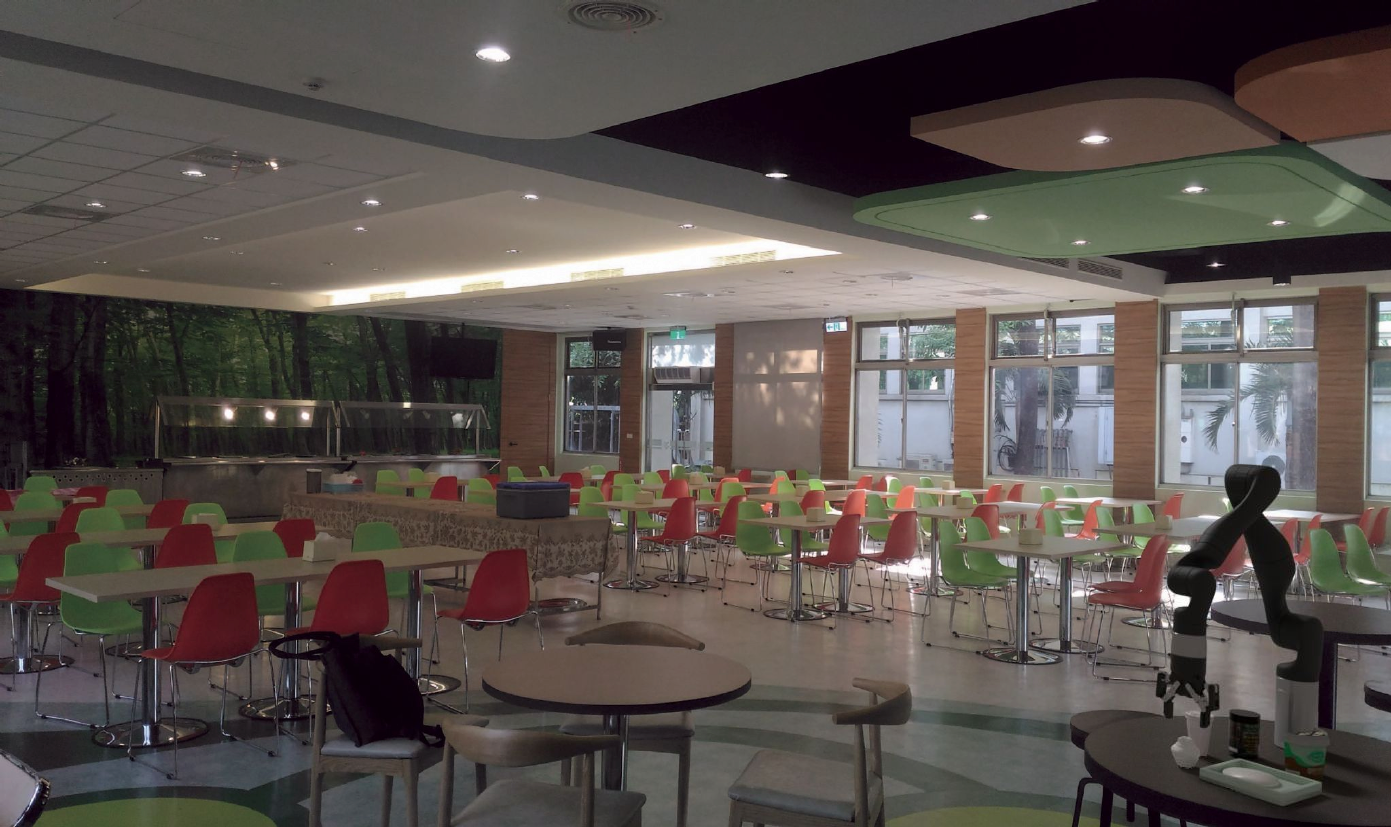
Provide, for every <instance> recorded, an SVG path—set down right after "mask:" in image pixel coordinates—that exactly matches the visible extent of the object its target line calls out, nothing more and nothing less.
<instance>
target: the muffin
mask: <svg viewBox="0 0 1391 827" xmlns="http://www.w3.org/2000/svg"><path fill="white" fill-rule="evenodd" d="M1170 751H1171V753H1172V756H1173V759H1174V761H1175V763H1176V765H1177V766H1178V765H1179V766H1180V768H1182V767H1188V768H1187V769H1189V768H1191V767H1193V768H1195V766H1196V764H1197V763H1198V761H1199V759H1200V758H1199V757H1201V756H1200V754H1201V753H1200V750H1199V749H1198V748H1197V747H1196V745H1195V742H1194V740H1193V739H1192V738H1190V737H1188V735H1187V736H1186V735H1185V736H1184V735H1183V736H1180V737H1178V738H1177V741H1176V742H1175V743H1174V744H1173V745H1172V746H1171V747H1170ZM1179 766H1178V767H1179ZM1191 769H1192V768H1191Z"/></svg>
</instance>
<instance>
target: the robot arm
mask: <svg viewBox="0 0 1391 827" xmlns="http://www.w3.org/2000/svg"><path fill="white" fill-rule="evenodd" d="M1223 481H1224V483H1223V484H1224V489H1225V493H1226V495H1227V498H1228V500H1229V502H1230V505H1231V507H1232V509H1231V510H1230V511H1228V512H1227V513H1225V514H1224V515H1222V516H1221V517H1219V518H1217V519H1216V520H1215V521H1214V522H1212V523H1211V524H1210V525H1209V526H1208V527H1207V528H1205V530H1204V531H1203V533H1202V534H1201V536H1200V537H1199V539H1198V540H1197V542H1196V543H1195V544H1194V547H1193V548H1192V549H1191V550H1189V551H1188V552H1187V553H1185V555H1183V556H1182V557H1181V558H1180V559H1178V560H1177V561H1176V562H1175V563H1173V565H1172V566H1171V568H1170V569H1169V571H1168V573H1167V577H1166V585H1167V588H1168V590H1169V591H1170V592H1171V593H1173V594H1174V595H1177V596H1182V597H1188V598H1191V599H1190V601H1189V603H1188V605H1186V606H1185V605H1183V606H1178V607H1176V608H1174V610H1173V618H1172V621H1173V622H1172V623H1173V624H1172V636H1171V642H1170V663H1169V664H1170V665H1169V666H1170V667H1169V668H1170V670H1169V671H1170V673H1169V672H1167V671H1159V672H1157V675H1156V676H1157V677H1156V684H1155V685H1156V686H1155V697H1156V698H1159V699H1161V700H1162V702H1163V711H1162V713H1163V716H1164V718H1165V719H1168V720H1170V719H1171V720H1172V719H1173V718H1174V706H1175V704H1174V702H1173V700H1175V698H1176V697H1178V696H1180V697H1185V698H1188V699H1193V701H1194V702H1195V704H1197V706H1198V707H1199V709H1200V711H1201V712H1200V728H1203V729H1204V728H1207V727H1208V726H1209V725H1210V715H1211V714H1212V713H1211V712H1215V711H1220V710H1221V709H1220V707H1221V702H1220V700H1221V699H1220V685H1219V683H1208V682H1207V681H1206V675H1207V661H1208V660H1207V659H1208V658H1207V656H1208V642H1207V629H1208V628H1207V623H1208V621H1207V620H1208V615H1209V613H1210V610H1211V608H1212V607H1211V606H1212V604H1213V600H1214V599H1215V598H1214V597H1215V595H1216V591H1217V586H1218V585H1217V580H1216V578H1215V575H1214V574H1213V572H1212V570H1217V569H1219V568H1220V567H1222V565H1223V564H1224V563H1225V561H1226V560H1227V558H1228V557H1229V555H1230V553H1231V552H1232V550H1233V549H1234V547H1235V545H1236V544H1237V543H1238V541H1239V540H1240V538H1241V537H1242V536H1243V537H1244V538H1243V539H1244V541H1245V543H1246V547H1247V551H1248V554H1249V558H1250V562H1251V565H1252V568H1253V571H1254V574H1255V577H1256V580H1257V583H1258V587H1259V591H1260V593H1261V598H1262V602H1263V608H1264V612H1265V618H1266V619H1265V620H1266V624H1267V629H1268V633H1269V635H1270V638H1271V641H1272V642H1273V644H1274V645H1276V646H1277V647H1279V648H1283V649H1287V650H1290V651H1295V652H1297V653H1296V658H1295V659H1294V660H1291V661H1287V662H1281V663H1278V664H1277V665H1276V667H1275V668H1276V669H1275V700H1274V702H1275V706H1274V710H1275V711H1274V736H1273V737H1274V739H1273V742H1274V745H1275V746H1276V747H1278V748H1282V749H1284V741H1282V739H1283V735H1284V732H1286V733H1290V734H1295V733H1298V732H1311V731H1313V727H1315V728H1318V729H1319V688H1320V687H1319V685H1320V684H1319V683H1320V682H1319V680H1320V673H1321V669H1322V666H1323V665H1322V664H1323V651H1324V641H1325V640H1324V639H1325V630H1324V626H1323V622H1322V621H1321V620H1320V619H1319V618H1318V617H1315V616H1312V615H1308V614H1307V615H1306V614H1301V613H1295V612H1291V611H1290V609H1289V607H1288V602H1287V596H1286V595H1287V592H1288V589H1289V588H1290V586H1291V584H1292V582H1293V580H1294V577H1295V575H1296V570H1297V566H1296V561H1295V557H1294V555H1293V551H1292V548H1291V545H1290V543H1289V541H1288V540H1287V539H1286V537H1285V536H1284V534H1283V533H1281V531H1280V530H1279V529H1277V527H1276V526H1275V525H1274V524H1273V523H1272V522H1271V521H1270V520H1269V519H1268V518H1267V517H1266V516H1265V514H1264V512H1265V511H1266V510H1267V509H1268V508H1269V507H1270V505H1272V503H1273V502H1274V501H1275V500H1276V498H1277V497H1278V496H1279V494H1280V491H1281V488H1282V478H1281V475H1280V473H1279V471H1278V470H1277V469H1276V468H1275V467H1273V466H1269V465H1261V464H1252V463H1251V464H1250V463H1249V464H1247V463H1246V464H1245V463H1243V464H1242V463H1237V464H1236V463H1235V464H1232V465H1230V466H1229V467H1228V468H1227V469H1226V471H1225V474H1224V480H1223ZM1169 682H1170V684H1171V687H1170V688H1169V689H1168V683H1169ZM1205 690H1206V692H1207V695H1208V696H1207V695H1206V693H1205V692H1204V691H1205Z"/></svg>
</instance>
